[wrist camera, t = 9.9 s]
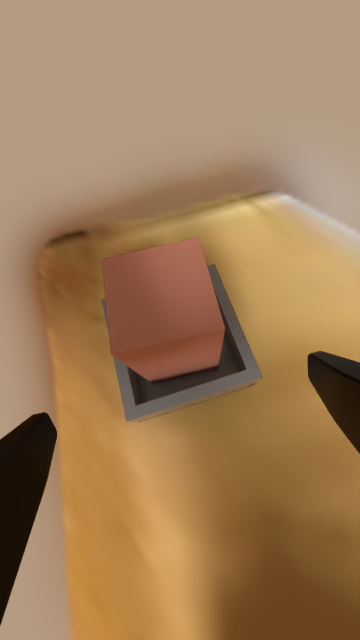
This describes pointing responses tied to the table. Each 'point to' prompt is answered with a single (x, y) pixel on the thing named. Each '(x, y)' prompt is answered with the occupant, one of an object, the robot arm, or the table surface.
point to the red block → (163, 311)
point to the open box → (185, 391)
